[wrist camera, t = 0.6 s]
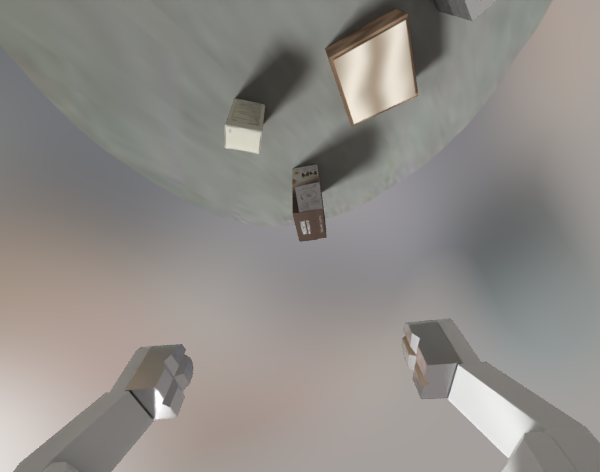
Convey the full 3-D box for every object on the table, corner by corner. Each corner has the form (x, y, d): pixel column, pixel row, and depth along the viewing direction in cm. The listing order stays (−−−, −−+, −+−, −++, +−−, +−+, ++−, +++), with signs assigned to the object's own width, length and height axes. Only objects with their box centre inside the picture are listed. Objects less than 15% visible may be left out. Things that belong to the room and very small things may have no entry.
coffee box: (291, 168, 61) (291, 212, 50) (317, 163, 60) (323, 207, 49) (298, 197, 68) (299, 242, 57) (321, 194, 67) (327, 238, 56)
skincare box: (233, 119, 52) (222, 148, 44) (234, 97, 49) (222, 123, 41) (264, 125, 53) (259, 155, 45) (267, 104, 50) (262, 132, 42)
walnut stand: (394, 8, 40) (408, 13, 35) (406, 83, 48) (419, 96, 43) (325, 48, 44) (329, 58, 39) (346, 112, 52) (352, 127, 47)
